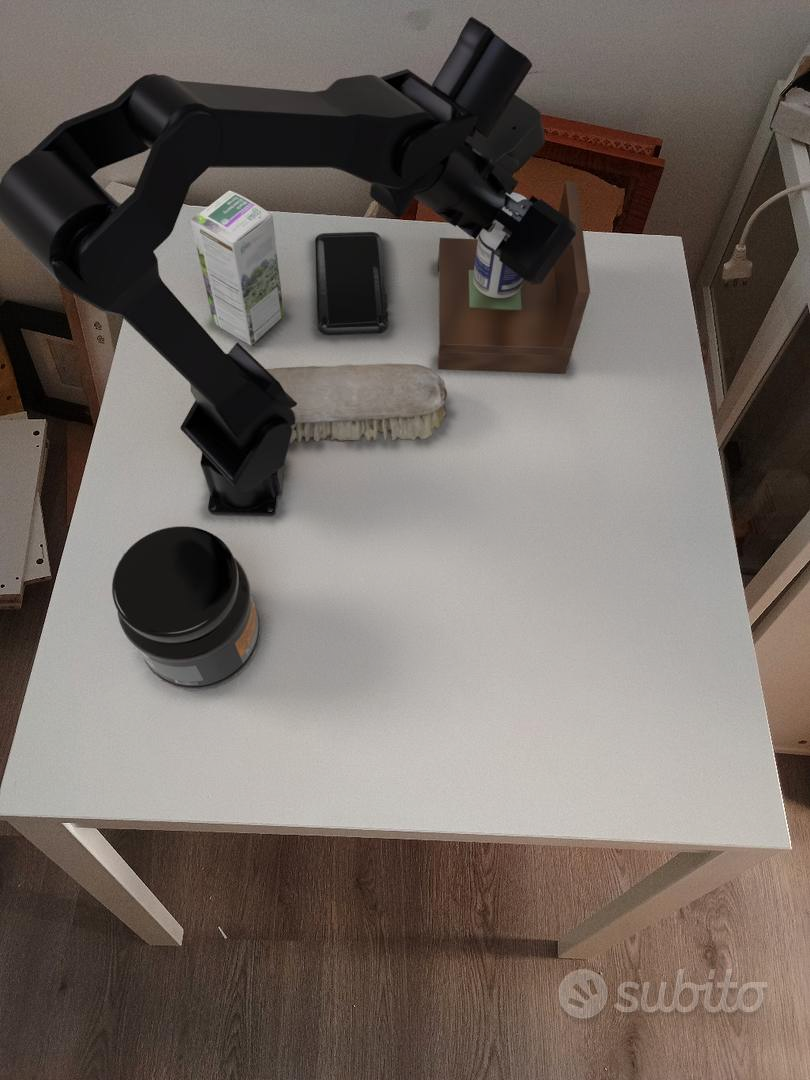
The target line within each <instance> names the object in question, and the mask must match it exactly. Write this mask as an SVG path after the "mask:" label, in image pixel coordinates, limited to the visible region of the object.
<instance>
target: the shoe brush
mask: <svg viewBox="0 0 810 1080" xmlns="http://www.w3.org/2000/svg"><path fill="white" fill-rule="evenodd" d="M265 369H266V370H267V371H268V372H269V373H270V374H271V375H272V376H273V377H274V378H275V379H276V380H277V381H278V382H279V383H280V385H281V386H282V388H283V390H284V391H285V392H286V393H287V394H288V395H289V396H290V397H291V398H292V399H293V400H294V401H295V402H296V403H297V405H296V406H295V407H293V408H291V409H292V410H293V411H294V414H295V416H296V421H295V424H294V425H292V426H291V427H292V435H291V439H290V443H289V444H290V445H291V444H293V442H294V440H296V439H297V441H298V443H300V442H301V441H302V439H303V437H304V440H305V441H306V442H309V441H310V439H311V438H313V440H314V441H315V442H317V443H319V442H320V440H321V439H324V440H326V438H327V437H328V436H329V437H330V440H331V441H333V440H338V441H339V442H342V441H356V440H357V441H358V440H360V439H361V437H362V436H365V439H366V441H371V440H372V438H373V440H374V441H377V439H378V438H379V432H382V434H383V436H384V441H386V440H387V436H388V431H390V434H391V439H392V441H393V442H394V441H395V440H397V438H399V439H402V440H413V441H414V440H416V438H418V437H419V439H421V440H426V439H427V438H428V437H430V436H433V429H434V428H436V429H437V430H439V429H440V428H441V426H442V423H443V421H444V417H445V416H446V415H447V414H448V411H447V408H446V406H445V403H446V401H447V397H448V392H447V387H446V386H445V380H444V379H443V378H442V377H441V375H440V374H439V373H437V372H435V371H434V370H433V369H432V368H429V367H426V366H425V365H420V364H414V363H413V364H411V363H373V364H340V365H335V366H333V365H331V366H330V365H328V366H325V365H324V366H323V365H322V366H317V365H311V366H290V367H274V368H265Z"/></svg>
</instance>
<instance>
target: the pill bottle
mask: <svg viewBox="0 0 810 1080" xmlns="http://www.w3.org/2000/svg"><path fill="white" fill-rule="evenodd" d="M506 194H507V195H508V196H509V197H511V198H512V199H514V200H515V201H516V202H519V201H521V200H523V199H527V198H526V197H525V196H524V195H522V194H520V193H517V192H514V191H513V192H512V193H511V194H510V195H509V194H508V193H506ZM505 207H506V206H505ZM505 207H503V208H502V210H503V211H505V212H506V213H507V214H509V215H510V216H512V213H511V212H512V211H511V212H510V211H508V209H505ZM516 214H518V213H517V212H516ZM493 222H495V223H496V224H495V227H494V229H493V230H492V231H491V232H487V231H486V230H484V229H482V230H481V232H480V233H479V235H478V236H477V239H478V244H477V251H476V258H475V266H474V273H473V281H474V284H475V286H476V288H477V289H478V290H479V291H480V292H481V293H483V294H484V295H486V296H489V297H492V298H507V297H511V296H513V295H515V294H516V293H517V292H518V291H519V290H520V289H521V287H522V284H523V281H524V279H523V278H522V277H520V276H519V275H518V274H516V273H515V272H514V271H512V270H511V269H510V268H508V267H507V266H506V265H505V264H503V263H502V262H501V261H499V259H500V258H499V257H498V256H496V255H495V254H494V251H495V250H496V248H497V247H498V245H499V244H500V242H501V241H502V240H503V238H504V236H505V235H506V234H505V233H504V232H503V231H502V229H503V228H504V226H503V225H502V224H501V223H499V222H498V221H497V220H494V221H493ZM493 222H492V223H493Z"/></svg>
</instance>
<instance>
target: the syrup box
mask: <svg viewBox="0 0 810 1080" xmlns="http://www.w3.org/2000/svg"><path fill="white" fill-rule="evenodd" d="M190 225H191V229H192V233H193V237H194V243H195V246H196V251H197V255H198V260H199V265H200V269H201V274H202V278H203V282H204V286H205V290H206V291H205V292H206V296H207V301H208V305H209V309H210V314H211V319H212V322H213V324H214V325H215V326H217V327H218V328H220V329H222V330H223V331H225V332H227V333H228V334H230V335H232V336H233V337H235V338H237V339H238V340H240V341H242V342H244V343H245V344H247V345H249V346H250V347H252V346H254V345H255V344H256V343H257V342H258V341H260V339H261V338H263V337H264V336H265V335H266V334H267V333H268V332H269V331H270V330H271V329H272V328H273V327H275V326H276V325H277V324H278V323H279V322H281V320H283V318H284V317H285V314H284V313H285V311H284V304H283V296H282V287H281V286H282V285H281V278H280V270H279V262H278V261H279V259H278V251H277V244H276V243H277V242H276V233H275V225H274V217H273V214H272V213H271V212H269V211H267V210H266V209H264V208H263V207H262V206H261V205H258V204H257V203H255V202H253V201H252V200H250V199H249V198H247V197H245V196H244V195H242V194H239V193H237V192H235V191H232V190H228V191H226V192H225V193H224V194H223V195H221V196H220V197H219V198H218V199H216V200H215V201H214V202H212V203H211V204H210V205H209V206H207V207H206V208H204V209H203V210H202V211H201V212H199V213H198V214H197V215H196V216H194V217H193V218H191V220H190Z"/></svg>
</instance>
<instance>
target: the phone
mask: <svg viewBox="0 0 810 1080" xmlns="http://www.w3.org/2000/svg"><path fill="white" fill-rule="evenodd" d="M314 244H315V245H314V248H315V249H314V250H315V280H316V281H315V282H316V283H315V284H316V316H317V317H316V318H317V319H316V320H317V329H318V331H319V332H320V333H321V334H322V335H325V336H338V335H339V336H341V335H365V334H367V335H369V334H382V333H383V332H385V331H387V329H388V326H389V325H388V324H389V322H388V321H389V320H388V319H389V313H388V298H387V292H386V291H387V290H386V283H385V270H384V269H385V267H384V257H383V256H384V255H383V244H382V237H381V235H380V234H379V233H377V232H375V231H353V232H351V231H349V232H324V233H323V232H322V233H320V234H318V235H317V236H316V237H315V239H314Z"/></svg>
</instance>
